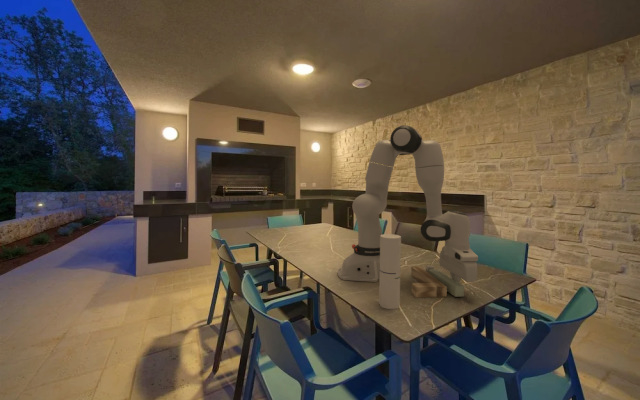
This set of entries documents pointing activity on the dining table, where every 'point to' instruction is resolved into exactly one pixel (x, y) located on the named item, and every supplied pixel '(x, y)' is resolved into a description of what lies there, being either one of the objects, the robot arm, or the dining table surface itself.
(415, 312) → the dining table surface
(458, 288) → the folding leg
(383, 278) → the cylindrical container
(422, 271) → the l-shaped wooden joint
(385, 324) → the dining table surface
